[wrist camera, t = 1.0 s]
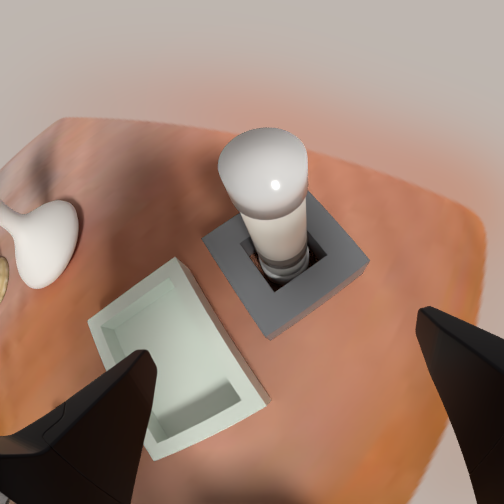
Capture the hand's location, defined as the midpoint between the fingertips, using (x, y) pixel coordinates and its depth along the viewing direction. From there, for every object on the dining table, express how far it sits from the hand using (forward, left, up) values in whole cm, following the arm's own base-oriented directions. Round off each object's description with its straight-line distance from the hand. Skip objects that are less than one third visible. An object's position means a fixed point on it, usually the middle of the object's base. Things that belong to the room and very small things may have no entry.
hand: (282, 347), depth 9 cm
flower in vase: (+24, +17, -14) cm, 32 cm away
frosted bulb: (+7, -4, -13) cm, 15 cm away
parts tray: (+5, +8, -13) cm, 16 cm away
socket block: (+7, -4, -13) cm, 15 cm away
